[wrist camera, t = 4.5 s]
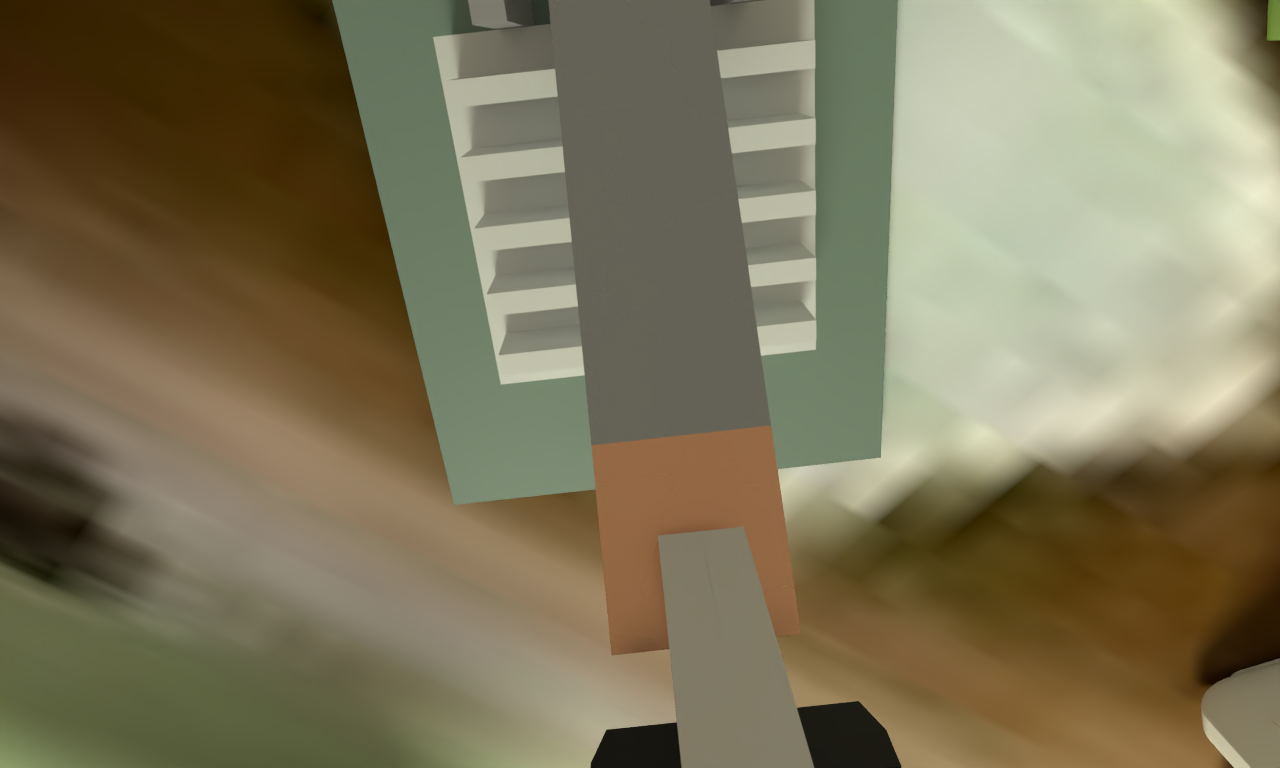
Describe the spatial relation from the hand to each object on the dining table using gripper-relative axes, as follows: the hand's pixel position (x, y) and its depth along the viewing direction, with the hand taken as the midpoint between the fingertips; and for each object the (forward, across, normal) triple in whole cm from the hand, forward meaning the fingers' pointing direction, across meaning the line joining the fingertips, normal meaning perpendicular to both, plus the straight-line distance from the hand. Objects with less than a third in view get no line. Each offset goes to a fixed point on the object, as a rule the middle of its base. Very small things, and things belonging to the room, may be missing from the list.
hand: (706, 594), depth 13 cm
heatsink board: (+17, 0, +5) cm, 18 cm away
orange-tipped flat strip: (+6, 0, +5) cm, 8 cm away
